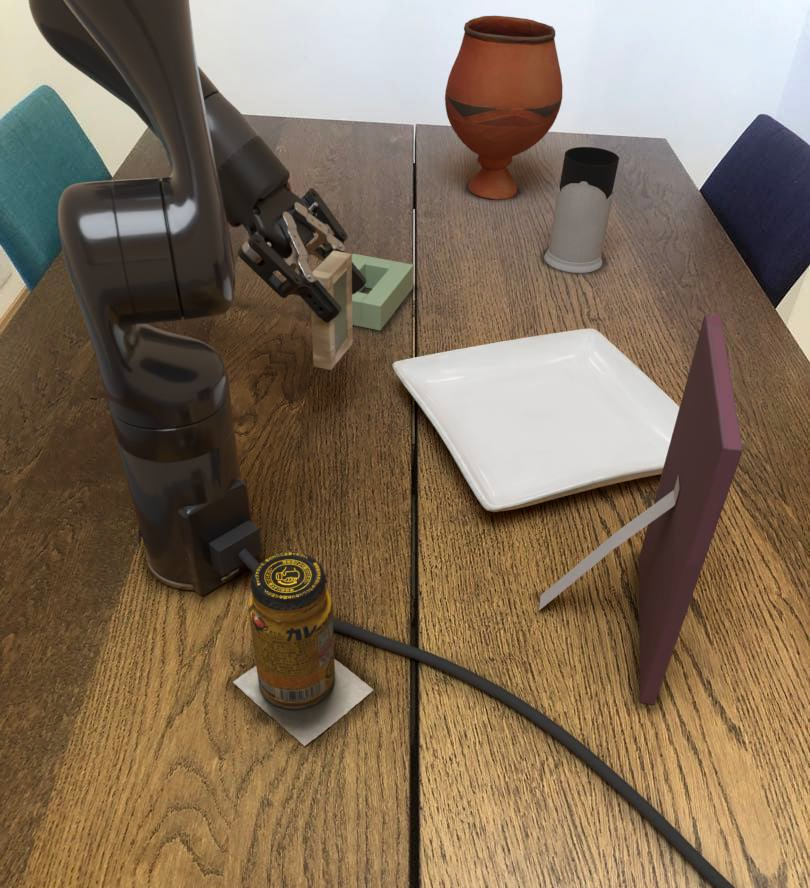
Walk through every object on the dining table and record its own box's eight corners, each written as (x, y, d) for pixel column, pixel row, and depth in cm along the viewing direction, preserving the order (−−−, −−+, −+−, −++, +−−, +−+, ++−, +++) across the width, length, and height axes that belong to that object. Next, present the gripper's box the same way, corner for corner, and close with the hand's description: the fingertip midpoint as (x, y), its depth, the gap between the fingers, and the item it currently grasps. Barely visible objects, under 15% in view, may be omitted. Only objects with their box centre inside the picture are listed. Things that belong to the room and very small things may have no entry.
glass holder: (538, 266, 121) (554, 161, 111) (557, 230, 131) (573, 130, 121) (597, 277, 120) (619, 170, 109) (611, 239, 129) (632, 139, 119)
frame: (313, 366, 85) (308, 274, 78) (335, 339, 89) (333, 250, 82) (331, 370, 84) (328, 278, 77) (352, 343, 88) (351, 253, 82)
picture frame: (654, 705, 65) (759, 452, 47) (530, 682, 66) (589, 428, 49) (651, 561, 76) (733, 317, 59) (546, 543, 78) (597, 300, 61)
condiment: (302, 633, 69) (293, 528, 60) (373, 691, 65) (374, 587, 56) (233, 683, 65) (213, 578, 57) (304, 748, 61) (294, 645, 52)
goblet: (491, 221, 133) (510, 46, 116) (416, 184, 144) (422, 20, 127) (570, 195, 142) (598, 30, 125) (494, 163, 153) (510, 6, 136)
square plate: (387, 387, 96) (388, 358, 94) (589, 351, 104) (595, 323, 101) (483, 535, 78) (487, 505, 76) (720, 479, 86) (731, 449, 83)
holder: (316, 317, 108) (315, 293, 106) (353, 276, 117) (353, 253, 115) (380, 331, 106) (380, 306, 104) (412, 288, 115) (413, 264, 113)
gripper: (211, 159, 69) (344, 314, 74) (285, 113, 79) (397, 253, 84) (166, 212, 74) (295, 355, 79) (241, 163, 84) (350, 292, 89)
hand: (347, 302), depth 82 cm, fingers closed on frame, 6 cm apart
